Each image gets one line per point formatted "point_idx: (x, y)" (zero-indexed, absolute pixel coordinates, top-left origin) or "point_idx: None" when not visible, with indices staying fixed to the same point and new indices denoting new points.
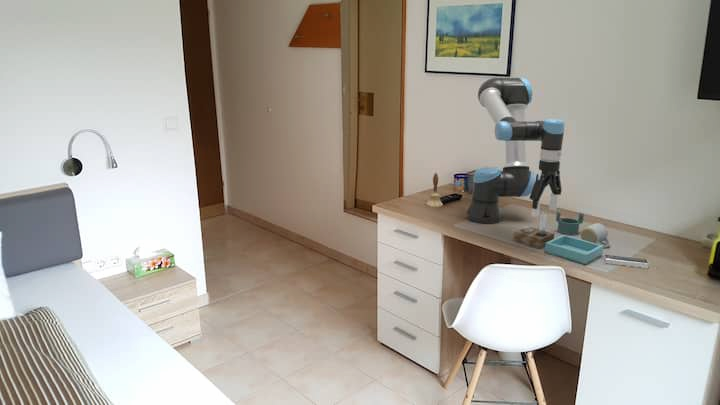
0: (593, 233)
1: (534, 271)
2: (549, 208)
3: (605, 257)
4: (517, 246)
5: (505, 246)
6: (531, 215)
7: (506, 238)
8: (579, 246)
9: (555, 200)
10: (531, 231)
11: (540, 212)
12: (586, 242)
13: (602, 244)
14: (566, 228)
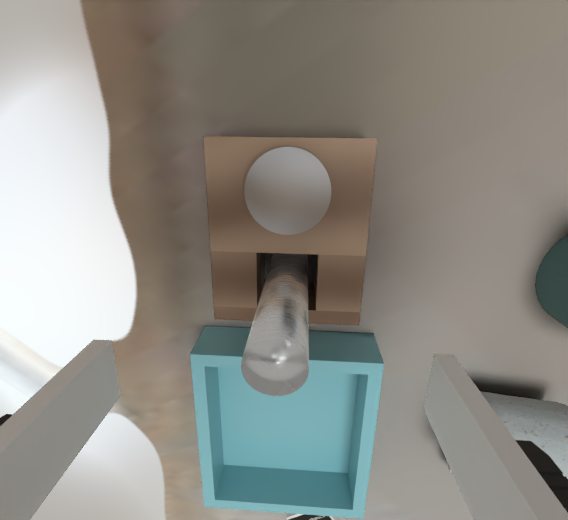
0: None
1: (7, 380)
2: (437, 364)
3: (296, 516)
4: (165, 201)
5: (111, 157)
6: (91, 344)
7: (221, 82)
8: (355, 416)
9: (476, 505)
10: (271, 229)
11: (271, 342)
12: (357, 463)
13: (449, 469)
14: (562, 303)
